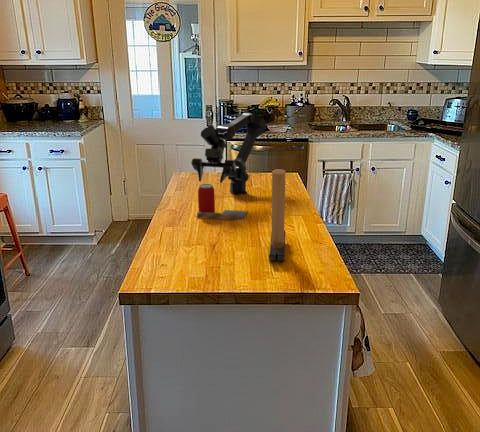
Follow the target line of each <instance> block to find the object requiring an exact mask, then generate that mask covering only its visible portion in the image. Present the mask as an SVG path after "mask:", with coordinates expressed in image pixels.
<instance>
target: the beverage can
mask: <svg viewBox="0 0 480 432" xmlns="http://www.w3.org/2000/svg"><path fill="white" fill-rule="evenodd" d="M197 191H198V192H197V196H198V200H197V201H198V212H209V213H216V212H215V211H216V210H215V209H216V206H215V205H216V201H215V188H214V185H212V183H211V184H210V183H203V184H199V187H198V189H197Z"/></svg>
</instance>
